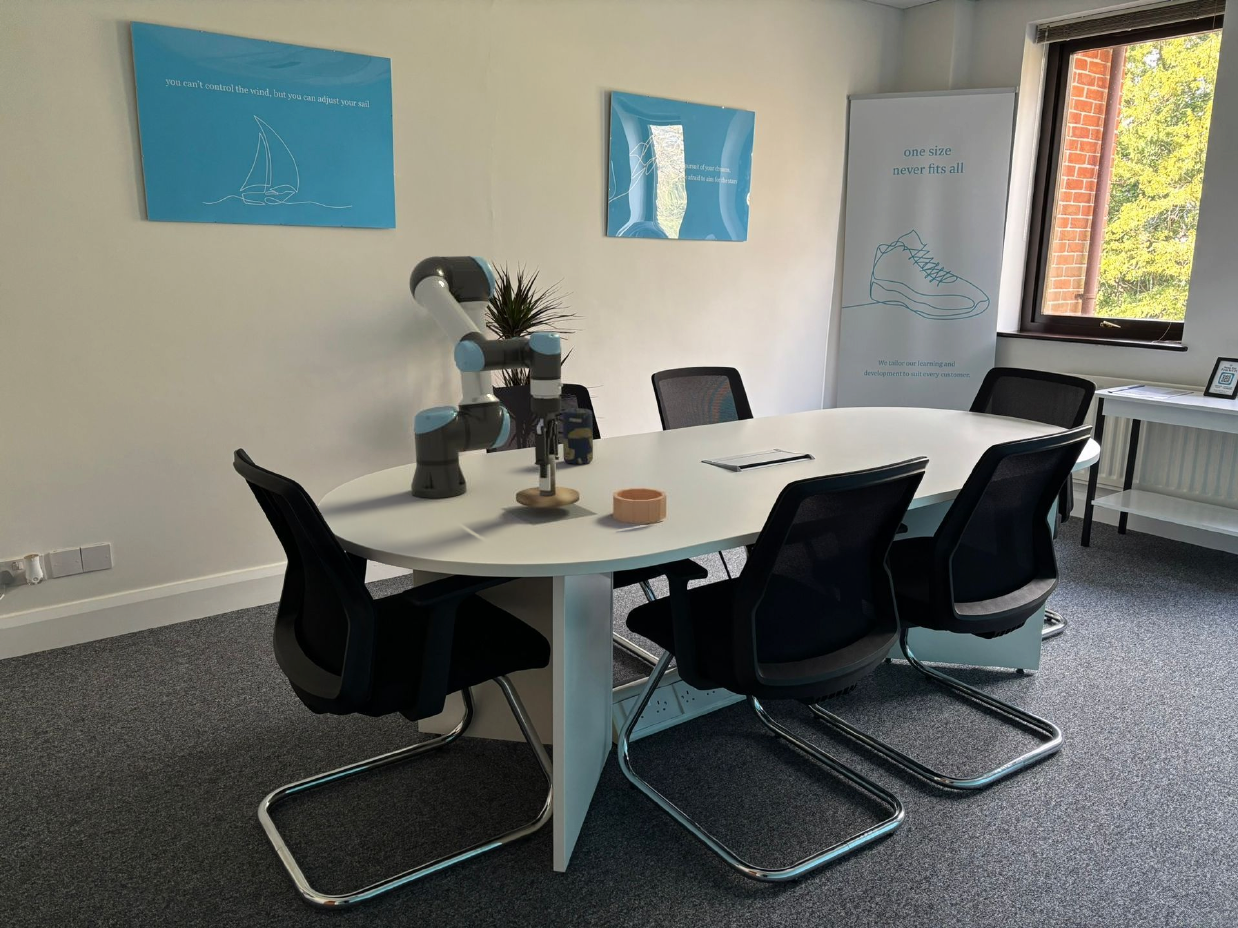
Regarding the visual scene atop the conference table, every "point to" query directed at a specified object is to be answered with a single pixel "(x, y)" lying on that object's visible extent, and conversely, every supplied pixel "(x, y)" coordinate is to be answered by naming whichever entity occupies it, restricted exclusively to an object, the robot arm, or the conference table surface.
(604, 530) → the conference table surface
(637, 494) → the bowl
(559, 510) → the mat
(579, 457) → the canister
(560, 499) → the lid
